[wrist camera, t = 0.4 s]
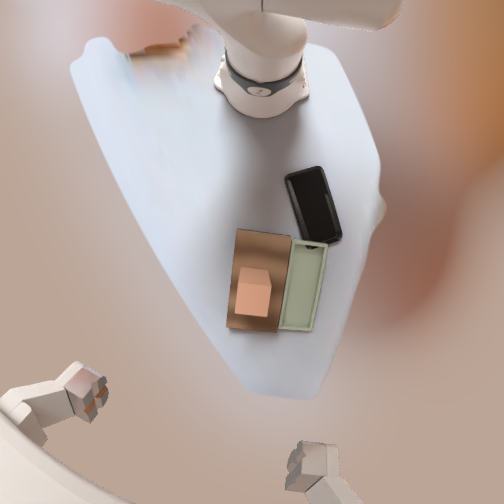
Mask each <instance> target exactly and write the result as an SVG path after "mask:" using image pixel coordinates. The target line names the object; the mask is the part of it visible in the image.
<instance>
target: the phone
mask: <svg viewBox="0 0 504 504" xmlns="http://www.w3.org/2000/svg"><path fill="white" fill-rule="evenodd" d="M285 184H286V187H287V190H288V193H289V196H290V199H291V202H292V205H293V209H294V212H295V215H296V218H297V221H298V225H299V228H300V231H301V235H302V238H303V240H304V241H312V242H320V243H326V244H330V243H333V242H336V241H339V240H340V239H341V238H342V230H341V227H340V223H339V219H338V216H337V212H336V209H335V205H334V202H333V199H332V195H331V192H330V189H329V186H328V182H327V179H326V176H325V173H324V170H323V168H322V167H320V166H314V167H311V168H307V169H304V170H300V171H297V172H294V173H290V174H288V175H287V176H286V177H285ZM305 246H306V248H307V249H310V250H311V249H315V248H318V247H319V246H312V245H305Z"/></svg>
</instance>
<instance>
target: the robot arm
mask: <svg viewBox="0 0 504 504" xmlns="http://www.w3.org/2000/svg"><path fill="white" fill-rule="evenodd" d="M155 1H156V2H159V3H164V4H168V5H171V6H175V7H178V8H180V9H183V10H185V11H188V12H190V13H192V14H194V15H195V16H197V17H199V18H200V19H202V20H203V21H205V22H206V23H207V24H209V25H210V26H211V27H213V28H214V29H215V30H216V31H217V32H218V33H219V34H220V35H221V36H222V38H223V40H224V43H225V50H226V51H225V55H223V56H222V58H221V62H222V63H221V65H220V67H219V70H218V72H217V74H216V76H215V79H214V85H215V87H216V88H217V89H219V90H220V91H222V92H223V93H224V94H225V95H226V97H227V99H228V101H229V102H230V104H231V105H232V106H233V107H234V108H235V109H236V110H238V111H239V112H241V113H243V114H245V115H247V116H250V117H255V118H270V117H274V116H277V115H280V114H282V113H283V112H285V111H286V110H288V109H289V108H290V107H291V106H292V105H293V104H294V103H295V102H296V101H299V100H302V99H304V98H306V97H307V96H308V95H309V86H308V79H307V73H306V66H305V60H304V54H303V51H304V48H305V45H306V42H307V39H308V31H307V27H306V24H305V22H304V20H303V19H306V20H310V21H314V22H318V23H323V24H326V25H330V26H338V27H344V28H351V29H358V30H364V31H370V32H374V31H377V30H380V29H382V28H384V27H386V26H388V25H389V24H391V23H392V22H393V21H394V20H395V19H396V18H397V17H398V16H399V14H400V13H401V11H402V9H403V7H404V4H405V0H155ZM303 86H304V88H303ZM106 383H107V380H106V377H105V376H103V375H101V374H99V373H97V372H96V371H94V370H92V369H90V368H88V367H87V366H85V365H83V364H82V363H80V362H78V361H76V362H74V363H72V364H71V365H70V366H69V367H68V368H67V369H66V370H65V371H64V372H63V373H62V374H61V375H60V376H59V377H58V378H57V379H56V380H55V381H53V380H50V381H45V382H41V383H36V384H32V385H27V386H22V387H17V388H12V389H10V390H9V391H8V392H7V393H6V394H4V395H3V396H2V397H1V398H0V504H135V503H133V502H131V501H129V500H127V499H125V498H122V497H120V496H118V495H116V494H114V493H112V492H110V491H108V490H107V489H104V488H103V487H101V486H99V485H97V484H95V483H94V482H92V481H90V480H89V479H87V478H85V477H84V476H82V475H80V474H79V473H77V472H75V471H74V470H72V469H71V468H69V467H68V466H66V465H65V464H63V463H62V462H60V461H59V460H58V459H56V458H55V457H53V456H52V455H51V454H49V453H48V452H47V451H45V450H44V449H43V448H42V446H43V445H44V443H45V442H46V441H47V436H46V434H45V432H44V431H43V429H42V428H45V427H47V426H50V425H52V424H55V423H57V422H60V421H63V420H65V419H68V418H70V417H73V416H74V415H76V416H78V417H80V418H81V419H83V420H85V421H87V422H88V423H91V422H92V420H93V419H94V418H95V417H96V415H97V414H98V412H97V409H98V408H101V407H103V406H104V405H105V403H106V401H107V399H108V394H109V392H108V388H107V387H106V385H105V384H106ZM287 469H288V471H289V472H290V473H289V475H288V476H287V477H286V483H285V490H288V491H296V492H304V493H305V496H306V497H307V499H308V501H309V503H310V504H364V503H363V502H362V501H361V500H360V499H359V497H358V496H357V495H356V494H355V492H354V491H353V490H352V489H351V487H350V486H349V485H348V484H347V482H346V481H345V480H344V478H342V477H340V474H339V456H338V447H337V445H333V444H324V443H315V442H308V441H300V442H299V443H298V444H297V449H295V450H293V451H292V452H291V454H290V457H289V459H288V464H287Z"/></svg>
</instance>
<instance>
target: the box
mask: <svg viewBox="0 0 504 504" xmlns="http://www.w3.org/2000/svg"><path fill="white" fill-rule="evenodd" d="M305 245H312V246H319V247H318V248H315V249H311V250H310V249H307V248H306V246H305ZM327 250H328V244H326V243H320V242H312V241H304V240H300V239H292V240H291V247H290V254H289V261H288V267H287V274H286V280H285V286H284V292H283V298H282V304H281V310H280V316H279V322H278V329H289V330H302V331H312V327H313V322H314V318H315V313H316V308H317V304H318V299H319V294H320V289H321V283H322V278H323V273H324V267H325V261H326V256H327Z"/></svg>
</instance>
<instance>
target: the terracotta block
mask: <svg viewBox="0 0 504 504" xmlns="http://www.w3.org/2000/svg"><path fill="white" fill-rule="evenodd" d="M271 287H272V286H271V281H270V277H269V273H268V270H263V269H254V268H246V267H241V269H240V275H239V281H238V288H237V297H236V306H235V313H237V314H245V315H254V316H263V317H267V313H268V307H269V300H270V294H271Z"/></svg>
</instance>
